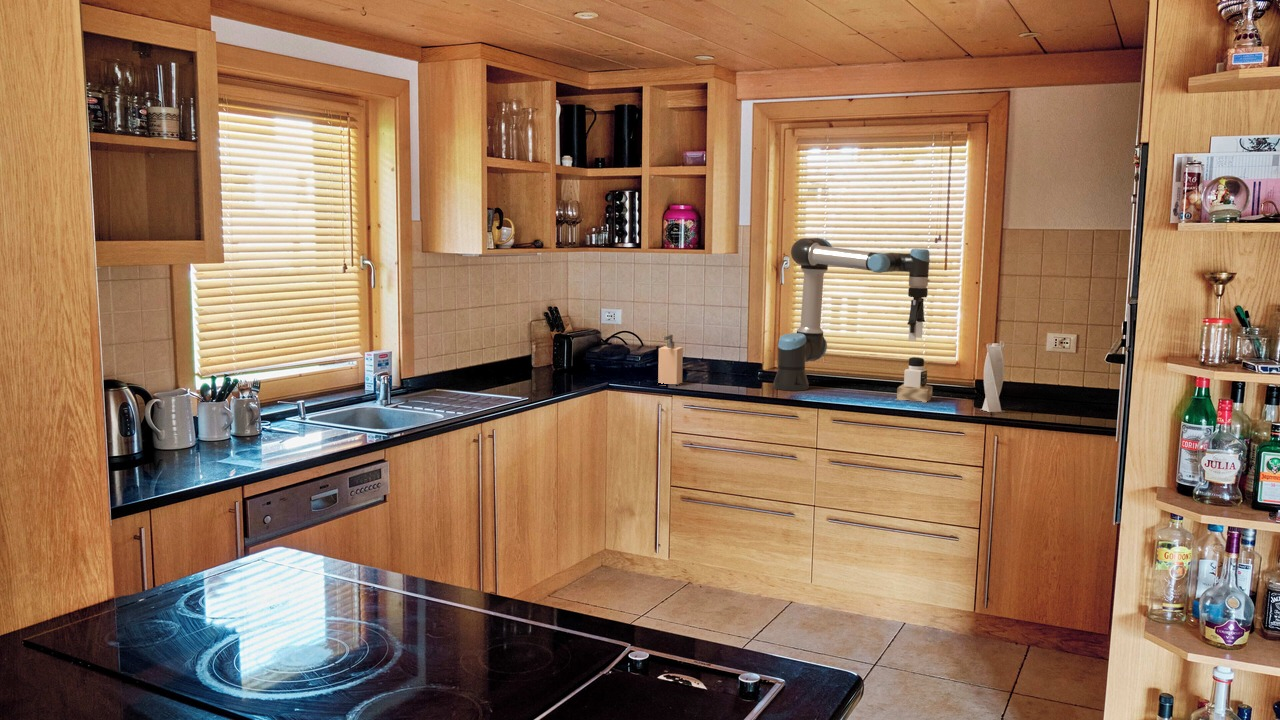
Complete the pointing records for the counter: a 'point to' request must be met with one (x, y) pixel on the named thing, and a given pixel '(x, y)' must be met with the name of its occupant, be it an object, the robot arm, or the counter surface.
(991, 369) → the skyscraper
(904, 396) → the base block
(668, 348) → the soap dispenser
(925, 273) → the robot arm
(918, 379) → the medicine bottle
